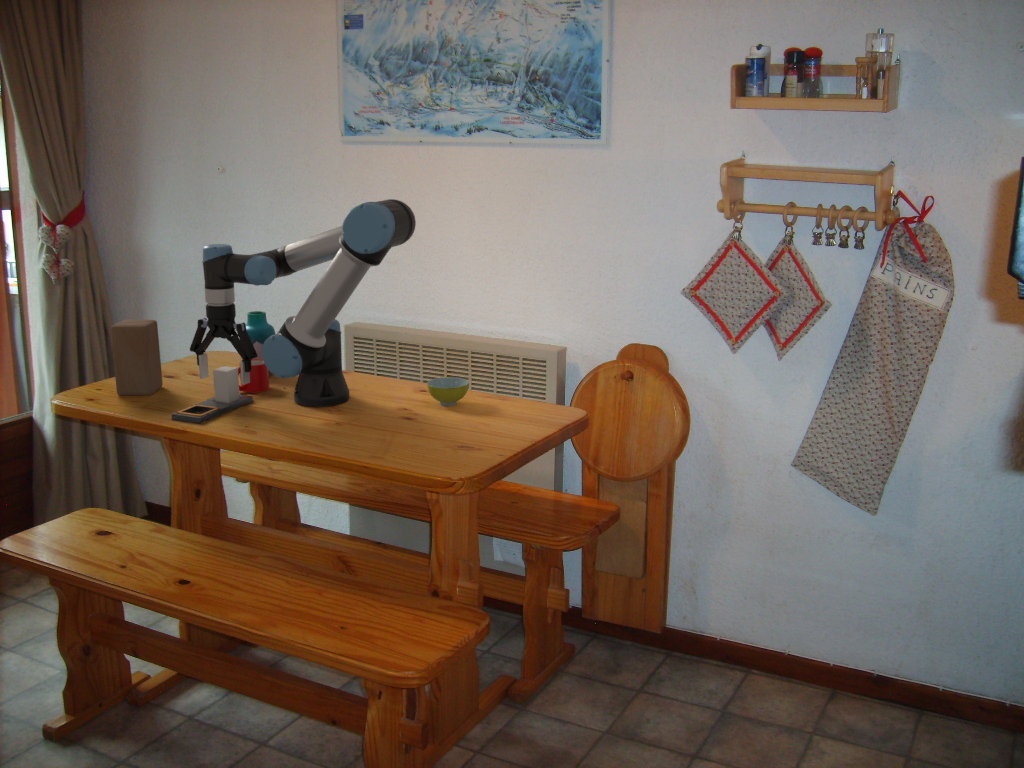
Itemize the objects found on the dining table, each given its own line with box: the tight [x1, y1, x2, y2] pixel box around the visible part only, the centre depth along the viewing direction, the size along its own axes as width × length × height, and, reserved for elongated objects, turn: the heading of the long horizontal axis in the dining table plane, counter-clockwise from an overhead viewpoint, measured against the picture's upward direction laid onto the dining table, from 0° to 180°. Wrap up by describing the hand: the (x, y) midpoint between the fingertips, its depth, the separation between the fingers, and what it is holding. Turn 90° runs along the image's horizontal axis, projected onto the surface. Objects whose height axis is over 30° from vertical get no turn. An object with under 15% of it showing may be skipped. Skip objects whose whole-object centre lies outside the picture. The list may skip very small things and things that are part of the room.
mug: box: [237, 359, 270, 393], centre depth 278 cm, size 8×12×8 cm, turn 150°
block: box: [110, 318, 163, 396], centre depth 274 cm, size 10×10×20 cm
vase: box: [241, 310, 277, 374], centre depth 293 cm, size 11×11×19 cm
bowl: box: [426, 377, 470, 407], centre depth 266 cm, size 11×12×6 cm
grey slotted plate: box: [171, 394, 254, 424], centre depth 259 cm, size 9×22×2 cm, turn 158°
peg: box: [212, 365, 241, 403], centre depth 264 cm, size 5×5×10 cm
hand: (224, 380), depth 263 cm, fingers open, 13 cm apart
